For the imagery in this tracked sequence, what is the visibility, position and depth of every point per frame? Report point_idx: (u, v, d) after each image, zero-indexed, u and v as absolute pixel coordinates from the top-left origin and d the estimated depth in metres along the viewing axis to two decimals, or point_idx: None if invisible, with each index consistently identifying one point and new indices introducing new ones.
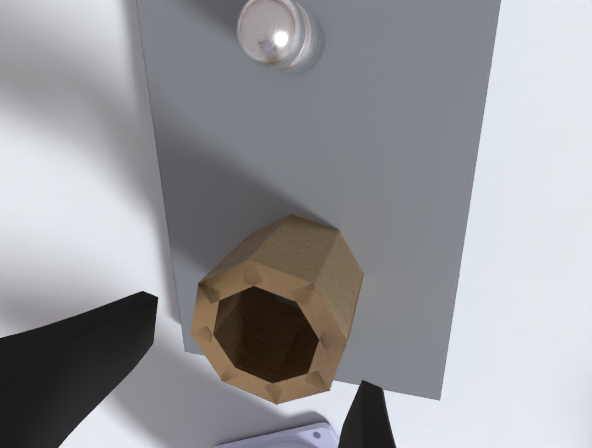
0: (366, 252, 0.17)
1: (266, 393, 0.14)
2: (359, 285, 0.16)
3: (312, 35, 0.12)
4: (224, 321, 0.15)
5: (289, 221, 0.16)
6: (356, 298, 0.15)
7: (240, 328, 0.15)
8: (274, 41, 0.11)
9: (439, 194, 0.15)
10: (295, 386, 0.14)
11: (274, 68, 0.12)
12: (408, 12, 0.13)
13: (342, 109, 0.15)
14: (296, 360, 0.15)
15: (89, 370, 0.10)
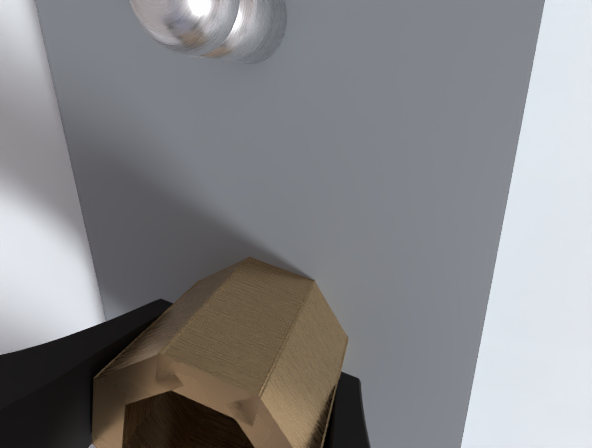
0: (351, 310, 0.12)
1: None
2: (340, 361, 0.11)
3: (258, 2, 0.08)
4: (147, 418, 0.10)
5: (244, 270, 0.12)
6: (334, 386, 0.10)
7: (173, 424, 0.11)
8: (181, 5, 0.06)
9: (453, 237, 0.10)
10: None
11: (194, 53, 0.07)
12: None
13: (314, 116, 0.10)
14: None
15: None
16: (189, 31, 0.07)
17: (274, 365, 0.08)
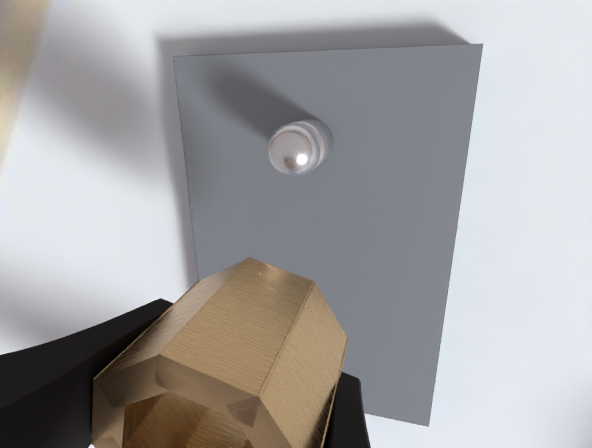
0: (366, 305, 0.20)
1: None
2: (340, 361, 0.11)
3: (324, 149, 0.16)
4: (146, 418, 0.10)
5: (244, 271, 0.12)
6: (334, 387, 0.10)
7: (173, 424, 0.11)
8: (297, 165, 0.14)
9: (426, 263, 0.18)
10: None
11: None
12: (400, 125, 0.17)
13: (347, 194, 0.18)
14: None
15: None
16: (297, 173, 0.15)
17: (274, 366, 0.08)
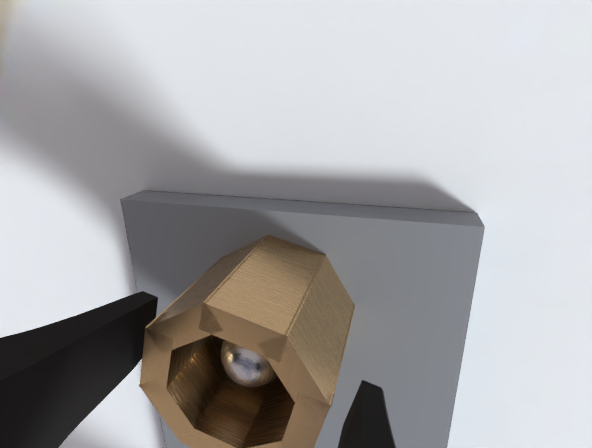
0: None
1: None
2: (348, 322, 0.13)
3: None
4: (184, 368, 0.12)
5: (265, 244, 0.13)
6: (344, 341, 0.12)
7: (205, 375, 0.13)
8: (255, 383, 0.12)
9: (417, 441, 0.16)
10: None
11: None
12: (385, 300, 0.14)
13: None
14: (270, 417, 0.12)
15: (89, 370, 0.10)
16: (257, 386, 0.12)
17: (296, 315, 0.10)
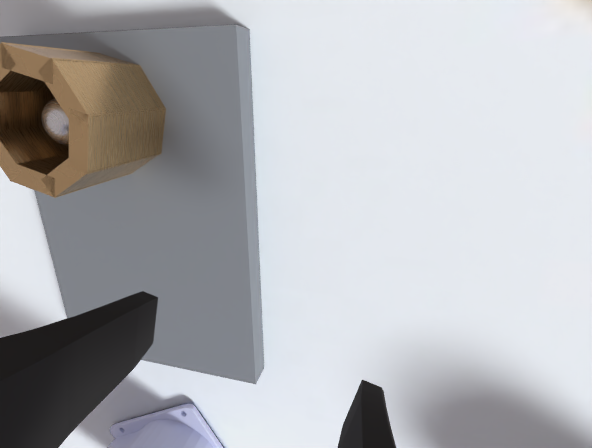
0: (187, 270, 0.22)
1: (44, 187, 0.16)
2: (148, 108, 0.17)
3: None
4: (16, 130, 0.17)
5: (89, 52, 0.18)
6: (134, 109, 0.16)
7: (38, 143, 0.17)
8: (62, 132, 0.16)
9: (227, 228, 0.20)
10: (63, 174, 0.15)
11: None
12: (185, 100, 0.18)
13: (154, 165, 0.20)
14: None
15: (89, 370, 0.10)
16: (68, 140, 0.16)
17: (72, 60, 0.15)
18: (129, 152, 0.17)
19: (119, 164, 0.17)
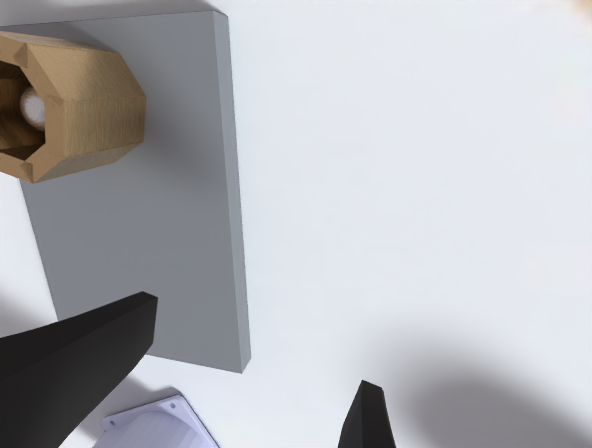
0: (171, 259, 0.22)
1: (23, 173, 0.16)
2: (128, 95, 0.17)
3: None
4: None
5: (69, 41, 0.18)
6: (112, 96, 0.17)
7: (18, 131, 0.17)
8: (40, 119, 0.16)
9: (209, 217, 0.20)
10: (41, 159, 0.15)
11: None
12: (165, 88, 0.18)
13: (136, 154, 0.20)
14: None
15: (89, 370, 0.10)
16: None
17: (48, 45, 0.15)
18: (108, 139, 0.17)
19: (98, 151, 0.17)
